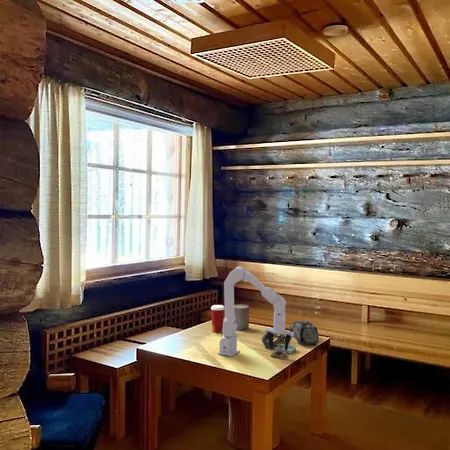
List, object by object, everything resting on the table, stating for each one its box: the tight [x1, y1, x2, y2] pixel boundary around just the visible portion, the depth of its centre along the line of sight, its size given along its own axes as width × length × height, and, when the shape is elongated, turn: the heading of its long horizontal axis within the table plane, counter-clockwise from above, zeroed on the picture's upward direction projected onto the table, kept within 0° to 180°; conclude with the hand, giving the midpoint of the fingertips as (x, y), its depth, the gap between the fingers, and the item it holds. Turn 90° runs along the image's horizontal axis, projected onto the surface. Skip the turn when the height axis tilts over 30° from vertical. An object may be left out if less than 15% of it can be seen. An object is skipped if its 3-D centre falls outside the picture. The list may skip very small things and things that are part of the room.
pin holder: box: [270, 350, 287, 360], centre depth 247 cm, size 6×6×2 cm
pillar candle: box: [234, 303, 250, 331], centre depth 299 cm, size 10×10×15 cm
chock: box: [264, 338, 278, 351], centre depth 262 cm, size 7×4×5 cm, turn 154°
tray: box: [274, 343, 297, 356], centre depth 256 cm, size 9×9×2 cm
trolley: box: [261, 325, 286, 344], centre depth 272 cm, size 12×9×7 cm
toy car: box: [289, 320, 320, 345], centre depth 277 cm, size 11×25×10 cm, turn 7°
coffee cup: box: [210, 304, 225, 334], centre depth 291 cm, size 8×8×15 cm
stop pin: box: [276, 343, 282, 355], centre depth 247 cm, size 2×2×6 cm
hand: (279, 348), depth 247 cm, fingers open, 7 cm apart
